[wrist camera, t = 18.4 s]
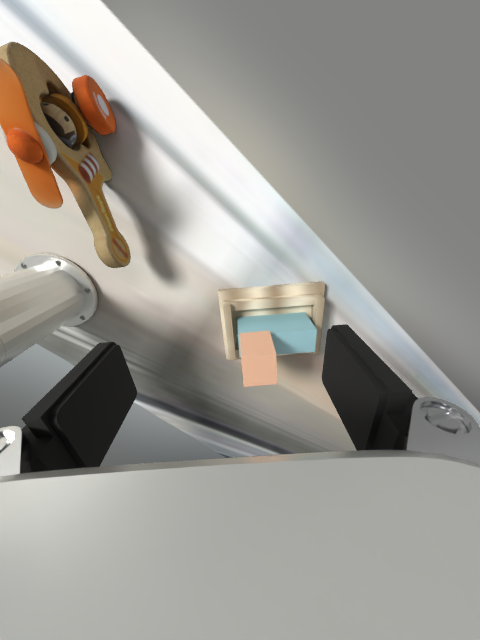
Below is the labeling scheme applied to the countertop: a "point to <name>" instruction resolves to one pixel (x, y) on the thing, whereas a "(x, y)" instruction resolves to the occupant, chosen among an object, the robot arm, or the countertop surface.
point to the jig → (269, 308)
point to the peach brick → (258, 358)
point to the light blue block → (282, 331)
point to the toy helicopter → (60, 141)
